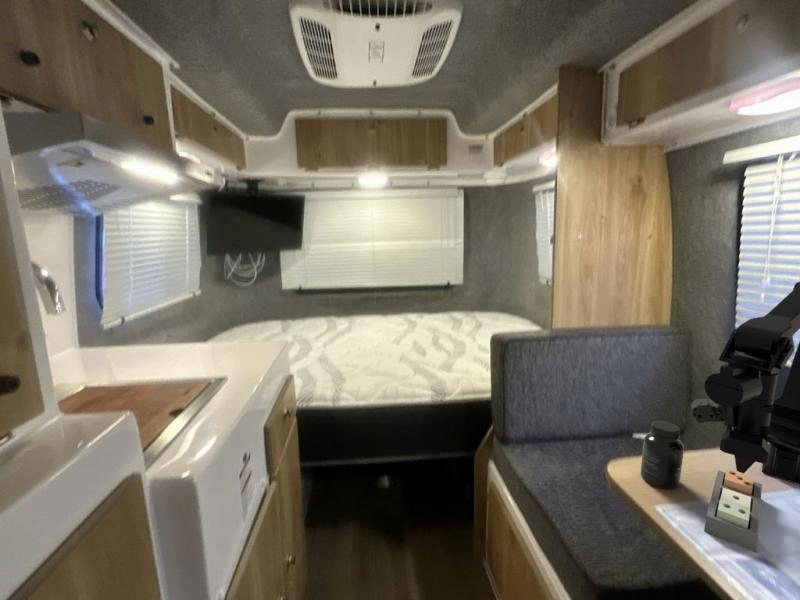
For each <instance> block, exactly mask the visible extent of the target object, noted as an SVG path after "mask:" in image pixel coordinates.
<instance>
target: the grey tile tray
mask: <svg viewBox="0 0 800 600" xmlns="http://www.w3.org/2000/svg"><path fill="white" fill-rule="evenodd" d="M725 475H726V471H725V472H724V471H723V470H722V471H721V470H717V474H716V477H715V480H714V484H713V489H712V492H711V496H710V500H709V504H708V508H707V512H706V515H705V516H706V517H705V523H704V532H706V533H708V534H711V535H713V536H716V537H718V538H721V539H722V540H725V541H727V542H731V543H732V544H735V545H738V546H741V547H742V548H744V549H745V548H746V549H747V550H749V551H753V552H756V548H757V545H758V544H757V543H758V539H759V537H758V536H759V527H760V525H759V524H760V514H761V502H762V490H763V484H762V483H759V482H757V481H754V480H753V489H752V495H749V494H747V493H744V492H741V491H738V490H735V489H732V488H729V487H726V486H724V480H725ZM723 488H726V489H729V490H732V491H734V492H737V493H740V494H743V495H746V496H749V497H751V504H750V515H749V523H748V529H746V528H744V527H741V526H738V525H736V524H733V523H731V522H728V521H725V520H723V519H720V518H717V511H718V506H719V502H720V498H721V494H722V490H723Z"/></svg>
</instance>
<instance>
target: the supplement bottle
mask: <svg viewBox="0 0 800 600" xmlns="http://www.w3.org/2000/svg"><path fill="white" fill-rule="evenodd" d="M650 425H651V426H650V429H649V431H650V432H649V433H647V434H646V435H645V436H644V439H643V446H642V454H641V463H640V464H641V465H640V476H641V477H642V479H643V480H644V481H645V482H646V483H648V484H650V485H651V486H653V487H656V488H659V489H664V490H673V489H677V488H678V487H679V486H680V483H681V476H682V475H681V474H682V468H683V459H684V453H685V446H684V443H682V441H681V440H680V437H681V435H680V434H681V429H680V427H679V426H678V425H677V424H674V423H671V422H669V421H664V420H654V421H652V422H651V424H650Z"/></svg>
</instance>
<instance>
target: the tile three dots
mask: <svg viewBox="0 0 800 600" xmlns="http://www.w3.org/2000/svg"><path fill="white" fill-rule="evenodd" d="M725 473H726V475H725V480H724V486H726V487H729V488H732V489H735V490H738V491H741V492H744V493H747V494H749V495H752V489H753V481H754V479H755V477H753V476H749V475H746V474H745V473H741V472H738V471H733V470H731V469H728V468H727V469H726V470H725Z"/></svg>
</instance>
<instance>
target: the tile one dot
mask: <svg viewBox="0 0 800 600" xmlns="http://www.w3.org/2000/svg"><path fill="white" fill-rule="evenodd" d="M721 498H723V499H726V500H729V501H732V502H734V503H737V504H740V505H743V506H746V507H749V508H750V504H751V497H749V496H746V495H743V494H740V493H737V492H734V491H732V490H729V489H726V488H723V490H722V494H721Z"/></svg>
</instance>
